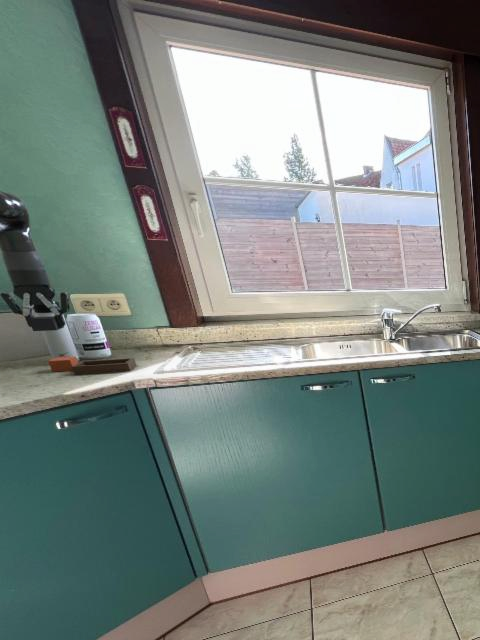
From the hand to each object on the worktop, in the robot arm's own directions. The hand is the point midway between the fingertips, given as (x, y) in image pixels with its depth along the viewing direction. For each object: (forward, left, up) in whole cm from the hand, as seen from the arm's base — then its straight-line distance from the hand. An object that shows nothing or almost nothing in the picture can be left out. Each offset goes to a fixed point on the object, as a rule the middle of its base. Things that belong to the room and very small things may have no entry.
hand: (48, 327), depth 147 cm
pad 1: (0, 0, 0) cm, 0 cm away
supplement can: (+1, +30, -15) cm, 33 cm away
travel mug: (-5, +24, -15) cm, 28 cm away
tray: (+9, +4, -14) cm, 17 cm away
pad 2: (-2, +10, -14) cm, 17 cm away
